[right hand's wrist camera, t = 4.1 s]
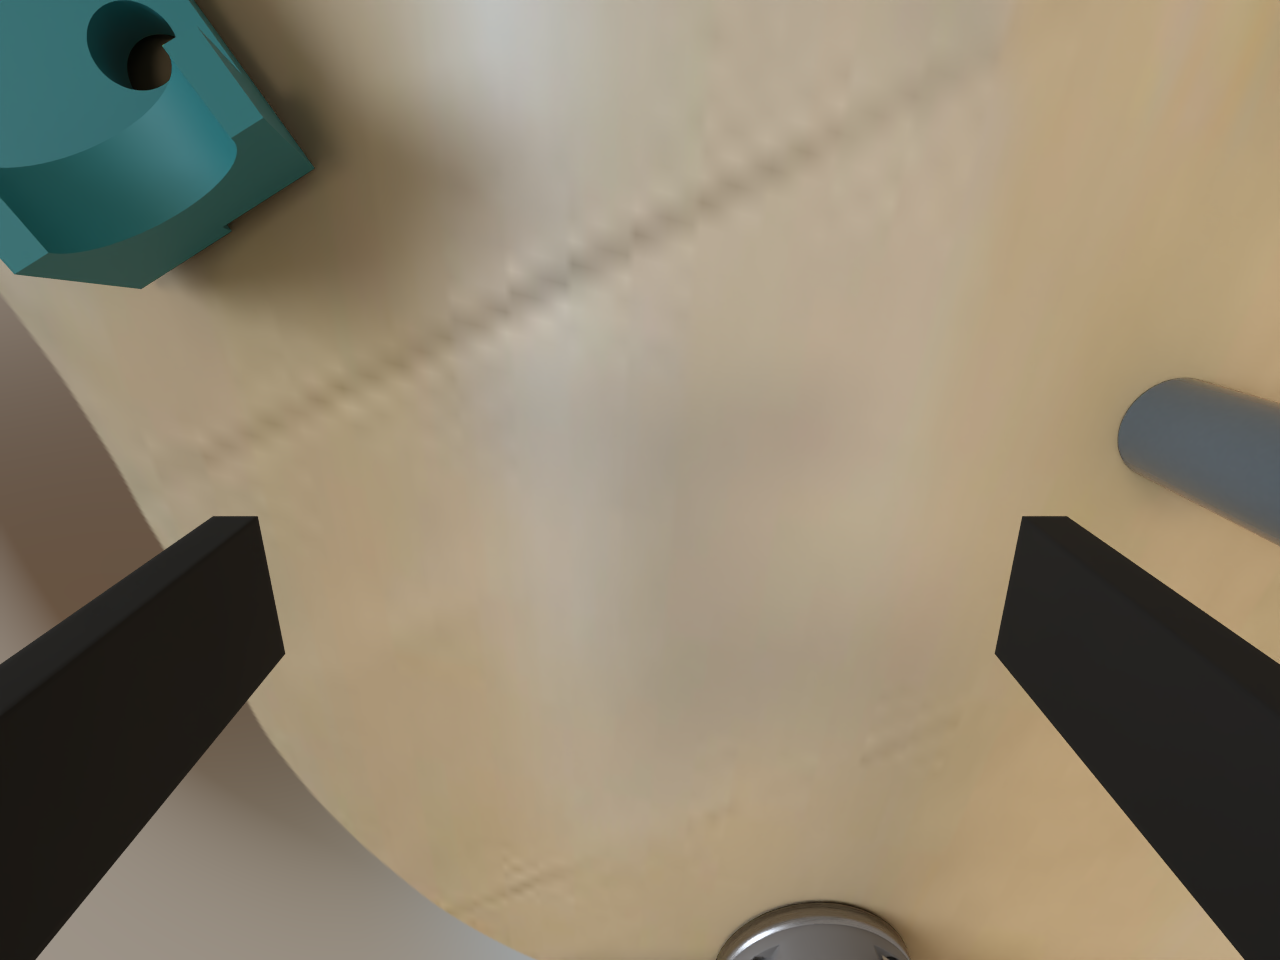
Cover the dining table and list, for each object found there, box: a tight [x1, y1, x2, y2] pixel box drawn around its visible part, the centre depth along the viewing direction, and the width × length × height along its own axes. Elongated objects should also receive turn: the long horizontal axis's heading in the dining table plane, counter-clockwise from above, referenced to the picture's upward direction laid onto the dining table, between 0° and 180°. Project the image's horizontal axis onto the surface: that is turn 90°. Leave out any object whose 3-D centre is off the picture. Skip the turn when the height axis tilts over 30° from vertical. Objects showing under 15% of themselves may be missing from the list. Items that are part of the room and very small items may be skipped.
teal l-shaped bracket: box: [0, 0, 315, 289], centre depth 29 cm, size 18×11×10 cm, turn 32°
